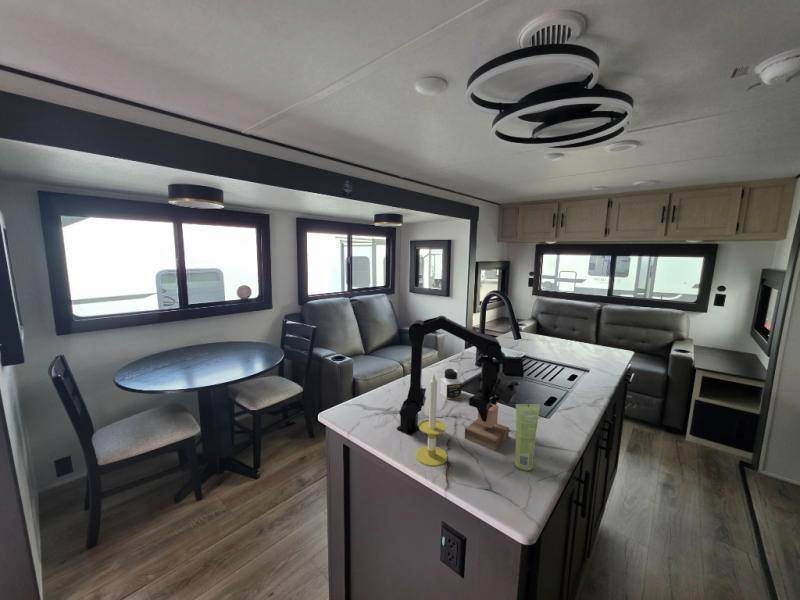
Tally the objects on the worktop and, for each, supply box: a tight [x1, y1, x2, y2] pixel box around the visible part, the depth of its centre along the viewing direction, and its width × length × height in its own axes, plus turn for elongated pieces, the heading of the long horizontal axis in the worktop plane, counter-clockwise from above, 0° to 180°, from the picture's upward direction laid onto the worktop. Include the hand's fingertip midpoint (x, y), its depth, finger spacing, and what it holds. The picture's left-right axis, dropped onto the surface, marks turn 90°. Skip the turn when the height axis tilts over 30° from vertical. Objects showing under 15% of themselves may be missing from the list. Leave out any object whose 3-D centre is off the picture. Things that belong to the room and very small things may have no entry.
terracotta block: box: [477, 404, 499, 428], centre depth 109 cm, size 5×5×6 cm
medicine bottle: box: [440, 368, 462, 400], centre depth 143 cm, size 7×7×12 cm
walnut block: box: [464, 418, 510, 452], centre depth 110 cm, size 11×11×4 cm
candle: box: [415, 374, 448, 467], centre depth 98 cm, size 10×10×27 cm
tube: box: [514, 403, 541, 472], centre depth 94 cm, size 6×5×20 cm
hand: (487, 418), depth 109 cm, fingers closed on terracotta block, 5 cm apart
